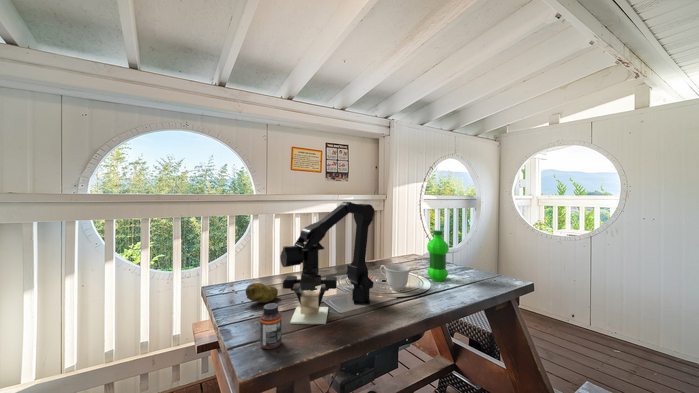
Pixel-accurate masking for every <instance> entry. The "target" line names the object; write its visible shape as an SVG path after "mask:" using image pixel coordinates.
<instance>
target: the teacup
mask: <svg viewBox="0 0 699 393" xmlns="http://www.w3.org/2000/svg"><path fill="white" fill-rule="evenodd" d="M383 268H384V271H385V272H384V271H383ZM411 270H412V268H411V267H410V266H409V265H406V264H401V263H389V264H386V265H384V264H382V265H380V267H379V271H380V273H381V275H383V276H385V277H386V280H387V284H388V285H389V287H390V289H391V290H392V289H393V290H392V291H394V290H398V291H397V292H401V291H400V290H402V291H403V290H404V288H405V287H406V286H407V284H408V283H409V282H408V281H409V276H410V271H411Z"/></svg>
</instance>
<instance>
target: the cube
mask: <svg viewBox="0 0 699 393" xmlns="http://www.w3.org/2000/svg"><path fill="white" fill-rule="evenodd" d="M319 296H320V290H313V291H310V290H305V291H302V295H301V305H300V307H301V314H318V312H319V308H320V307H321V305H320V306H319Z"/></svg>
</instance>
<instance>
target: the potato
mask: <svg viewBox="0 0 699 393" xmlns="http://www.w3.org/2000/svg"><path fill="white" fill-rule="evenodd" d="M278 292H279V290H278V288H276V287H275V286H271V285H268V284H264V283H260V282H253V283H250V284H249V285H247V287H246V288H245V295H246V299H247V300H248V299H249V301H251V302H257V303H258V302H259V303H261V304H262V303H263V304H265V303H266V304H267V303H269V302H271V301H273V300H274V299H276V298H277V297H278V295H279V293H278Z"/></svg>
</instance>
